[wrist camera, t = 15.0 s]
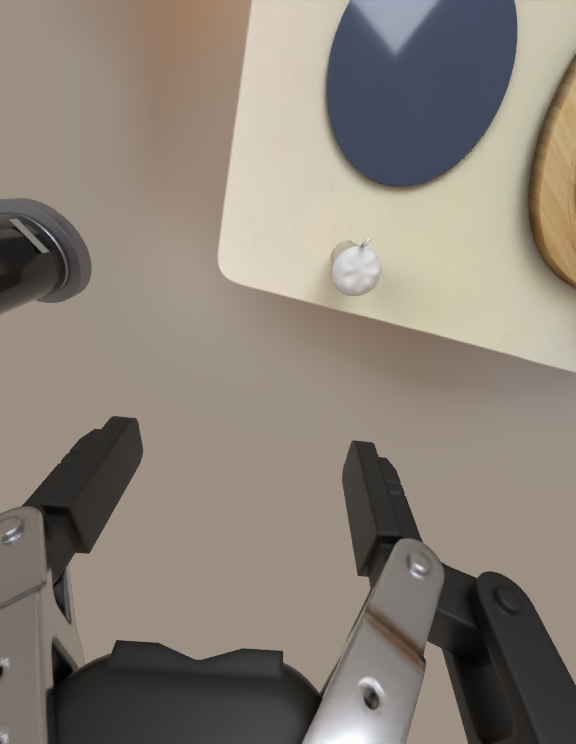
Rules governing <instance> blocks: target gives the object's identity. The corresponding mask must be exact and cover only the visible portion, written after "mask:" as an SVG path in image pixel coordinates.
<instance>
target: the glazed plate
mask: <svg viewBox="0 0 576 744" xmlns="http://www.w3.org/2000/svg"><path fill="white" fill-rule="evenodd" d="M516 45H517V16H516V7H515V2H514V0H350V2H349V4H348V6H347V8H346V10H345V12H344V14H343V16H342V18H341V21H340V23H339V26H338V29H337V31H336V34H335V38H334V41H333V45H332V49H331V53H330V59H329V64H328V72H327V106H328V114H329V119H330V123H331V128H332V130H333V133H334V136H335V139H336V141H337V143H338V145H339V147H340V149H341V151H342V153H343V154H344V156H345V157H346V159H347V160H348V161H349V162H350V163H351V165H352V166H353V167H354V168H355V169H356V170H358V171H359V172H360V173H361V174H362V175H364V176H366V177H367V178H369V179H371V180H373V181H375V182H378V183H381V184H385V185H390V186H408V185H414V184H419V183H423V182H425V181H428V180H430V179H433V178H435V177H437V176H439V175H440V174H442V173H444V172H445V171H447V170H448V169H450V168H451V167H453V166H454V165H455V164H456V163H458V162H459V161H460V160H461V159H462V158H463V157H465V155H466V154H467V153H468V152H469V151H470V150H471V149H472V148H473V147H474V146H475V145H476V143H477V142H478V141H479V140H480V138H481V137H482V136H483V134H484V133H485V131H486V130H487V128H488V127H489V125H490V124H491V122H492V120H493V118H494V116H495V115H496V113H497V111H498V109H499V107H500V105H501V102H502V100H503V97H504V95H505V93H506V90H507V87H508V84H509V81H510V77H511V73H512V69H513V65H514V60H515V53H516Z"/></svg>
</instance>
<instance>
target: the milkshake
mask: <svg viewBox="0 0 576 744" xmlns="http://www.w3.org/2000/svg"><path fill="white" fill-rule="evenodd" d="M370 241H371V240H365V241H364V242H363V243H362V244H361V245H357V244H355V243H353V242H351V241H344V242H340V243H339V244H338V245H337V246H336V247H335V248H334V249H333V253H332V280H333V283H334V285H335V286H336V288H337V289H338V290H339V291H340V292H342V293H343V294H345V295H349V296H359V295H363V294H365V293H367V292H369V291H371V290H372V289H373V288H374V287H375V286H376V285H377V283H378V281H379V278H380V275H381V271H382V266H381V262H380V260H379V257H378V256H377V254H376V253H375V252H374V251H373V250H371V249H370V248H367V247H365V246H366V245H367V244H368V243H369V242H370Z"/></svg>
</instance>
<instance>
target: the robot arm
mask: <svg viewBox="0 0 576 744" xmlns="http://www.w3.org/2000/svg"><path fill="white" fill-rule="evenodd" d="M69 277H70V263H69V259H68V256H67V253H66V251H65V249H64V247H63V246H62V244H61V243H60V241H59V240H58V238H57V237H56V236H55V235H54V234H53V233H52V232H51V231H50V230H49V229H48V228H47V227H46V226H45V225H43V224H42V223H41V222H39V221H38V220H36V219H34V218H32V217H30V216H28V215H25V214H22V213H17V212H3V213H0V315H1V314H3V313H6V312H8V311H10V310H13V309H15V308H17V307H20V306H22V305H24V304H27V303H29V302H31V301H34V300H36V299H39V298H41V297H44V296H46V295H49V294H53V293H55V292H58V291H60V290H61V289H63V288H64V287H65V286H66V284H67V282H68V280H69ZM142 455H143V446H142V441H141V435H140V430H139V425H138V421H137V420H136V418H128V417H118V416H113V417H111V418H110V419H109V420H108V422H107V423H106V424H105V425H104V427H103V428H102V429H101V430H100V429H94V430H93V431H91V432H90V433H88V434H87V435H85V436H84V437H82V438H81V439H79V441H78V442H77V443H76V444H75V445H74V446H73V448H72V449H71V450H70V453H68V454H67V455H66V456H65V457H64V458H63V459H62V460H61V463H60V464H58V465H57V466H56V467H55V468H54V470H53V471H52V472H51V473H50V475H49V476H48V477H47V478H46V479H45V480H44V481H43V482H42V484H41V485H40V486H39V487H38V488H37V489H36V491H35V492H34V493H33V494H32V495H31V497H30V498H29V499H28V500H27V501H26V502H25V503H24V504H23V505H22V506H21V507H17V508H14V509H10V510H8V511H5V512H3V513H1V514H0V744H406V740H407V737H408V733H409V729H410V726H411V722H412V718H413V715H414V711H415V707H416V704H417V700H418V696H419V692H420V689H421V685H422V682H423V678H424V673H425V668H426V667H425V666H426V660H425V659H424V655H423V654H424V649H425V645H426V642H427V641H428V642H430V643H432V644H434V645H436V646H438V647H440V648H442V651H443V654H444V658H445V661H446V665H447V669H448V672H449V676H450V680H451V683H452V686H453V690H454V694H455V697H456V701H457V705H458V708H459V712H460V715H461V719H462V723H463V726H464V730H465V733H466V737H467V741H468V744H576V685H575V683H574V681H573V679H572V678H571V676H570V674H569V672H568V670H567V668H566V666H565V664H564V663H563V661H562V659H561V657H560V655H559V653H558V651H557V649H556V647H555V645H554V644H553V642H552V640H551V638H550V636H549V634H548V632H547V631H546V629H545V627H544V625H543V623H542V621H541V619H540V617H539V615H538V613H537V611H536V610H535V608H534V606H533V604H532V602H531V601H530V599H529V598H528V597H527V595H526V594H525V593H524V591H523V590H522V589H521V588H520V587H519V586H518V585H517V584H516V583H514V582H513V581H512V580H510V579H509V578H507V577H505V576H503V575H502V574H499V573H496V572H484V573H482V574H481V575H480V576H479V577H478V578H475V577H473V576H470V575H468V574H466V573H463V572H461V571H458V570H456V569H454V568H451V567H449V566H447V565H445V564H443V563H442V562H440V560H439V558H438V557H437V555H436V554H435V553H434V552H433V551H432V550H431V549H430V548H429V547H428V546H427V545H425V544H424V543H423V541H422V539H421V537H420V534H419V532H418V529H417V526H416V523H415V521H414V518H413V515H412V513H411V510H410V507H409V504H408V501H407V499H406V496H404V494H405V493H404V490H403V488H402V485H401V484H400V483H401V482H400V479H399V477H398V474H397V471H396V469H395V468H394V467H393V465H392V464H391V463H390V462H389V461H388V459H387V458H382V457H378V454H377V451H376V448H375V445H374V443H372V442H364V441H352V442H351V445H350V448H349V451H348V455H347V458H346V461H345V464H344V467H343V475H342V482H343V489H344V495H345V501H346V507H347V513H348V519H349V525H350V531H351V537H352V543H353V550H354V555H355V561H356V567H357V574H358V576H366V577H369V582H370V587H371V589H370V591H369V593H368V595H367V597H366V599H365V601H364V604H363V606H362V607H361V610H360V612H359V614H358V616H357V618H356V620H355V622H354V624H353V626H352V628H351V631H350V632H349V634H348V636H347V638H346V641H345V643H344V645H343V647H342V649H341V651H340V653H339V654H338V656H337V658H336V660H335V662H334V664H333V666H332V668H331V670H330V673H329V674H328V677H327V678H326V681H325V683H324V685H323V687H322V689H321V691H320V693H319V692H318V691H317V689H316V688H315V687H314V686H313V685H312V684H311V683H310V681H309V680H308V679H307V678H306V677H304V676H303V675H302V674H301V673H300V672H299V671H297V670H296V669H294V668H293V667H291V666H289V665H287V664H285V663H283V651H274V650H259V649H244V648H243V649H240V650H235V651H233V652H228V653H225V654H221V655H218V656H214V657H210V658H207V659H203V660H195V659H192V658H190V657H188V656H186V655H184V654H181V653H179V652H177V651H175V650H172V649H170V648H168V647H166V646H164V645H162V644H159V643H151V642H136V641H120V640H117V641H116V643H115V645H114V648H113V650H112V653H111V654H107V655H105V656H102V657H100V658H97V659H95V660H93V661H91V662H89V663H88V664H86V665H85V660H84V654H83V650H82V646H81V642H80V639H79V636H78V632H77V627H76V621H75V620H76V619H75V612H74V603H73V595H72V586H71V579H70V570H69V565H68V564H69V562H70V560H71V559H72V557H73V555H74V554H75V553H87V554H88V553H90V552H91V549H92V548H93V546H94V544H95V543H96V541H97V539H98V537H99V535H100V534H101V532H102V530H103V528H104V527H105V525H106V523H107V521H108V520H109V518H110V516H111V514H112V512H113V511H114V509H115V507H116V505H117V504H118V502H119V500H120V498H121V496H122V495H123V493H124V491H125V489H126V488H127V486H128V484H129V482H130V480H131V479H132V477H133V475H134V473H135V472H136V470H137V468H138V466H139V464H140V462H141V459H142Z"/></svg>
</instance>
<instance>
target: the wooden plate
mask: <svg viewBox="0 0 576 744" xmlns="http://www.w3.org/2000/svg"><path fill="white" fill-rule="evenodd" d="M528 208H529V220H530V226H531V231H532V234H533V238H534V242H535V244H536V246H537V248H538V250H539V252H540V254H541V256H542V258H543V260H544V261H545V263H546V264H547V265H548V266H549V268H550V269H551V270H552V271H553V272H554V273H555V274H556V275H557V276H558V277H559V278H560V279H562V280H563V281H564V282H566V283H567V284H569V285H571V286H573V287H575V288H576V55H575V57H574V59H573V60H572V62H571V64H570V65H569V67H568V69H567V71H566V73H565V75H564V77H563V79H562V81H561V83H560V85H559V87H558V89H557V91H556V93H555V96H554V98H553V100H552V102H551V105H550V107H549V109H548V112H547V114H546V116H545V119H544V122H543V125H542V128H541V131H540V134H539V138H538V141H537V145H536V149H535V153H534V158H533V162H532V168H531V175H530V182H529V194H528Z"/></svg>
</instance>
